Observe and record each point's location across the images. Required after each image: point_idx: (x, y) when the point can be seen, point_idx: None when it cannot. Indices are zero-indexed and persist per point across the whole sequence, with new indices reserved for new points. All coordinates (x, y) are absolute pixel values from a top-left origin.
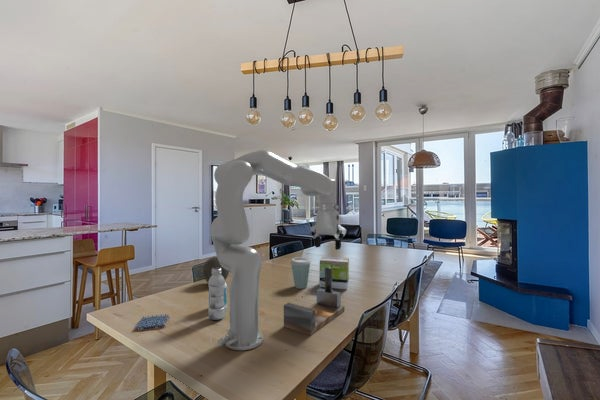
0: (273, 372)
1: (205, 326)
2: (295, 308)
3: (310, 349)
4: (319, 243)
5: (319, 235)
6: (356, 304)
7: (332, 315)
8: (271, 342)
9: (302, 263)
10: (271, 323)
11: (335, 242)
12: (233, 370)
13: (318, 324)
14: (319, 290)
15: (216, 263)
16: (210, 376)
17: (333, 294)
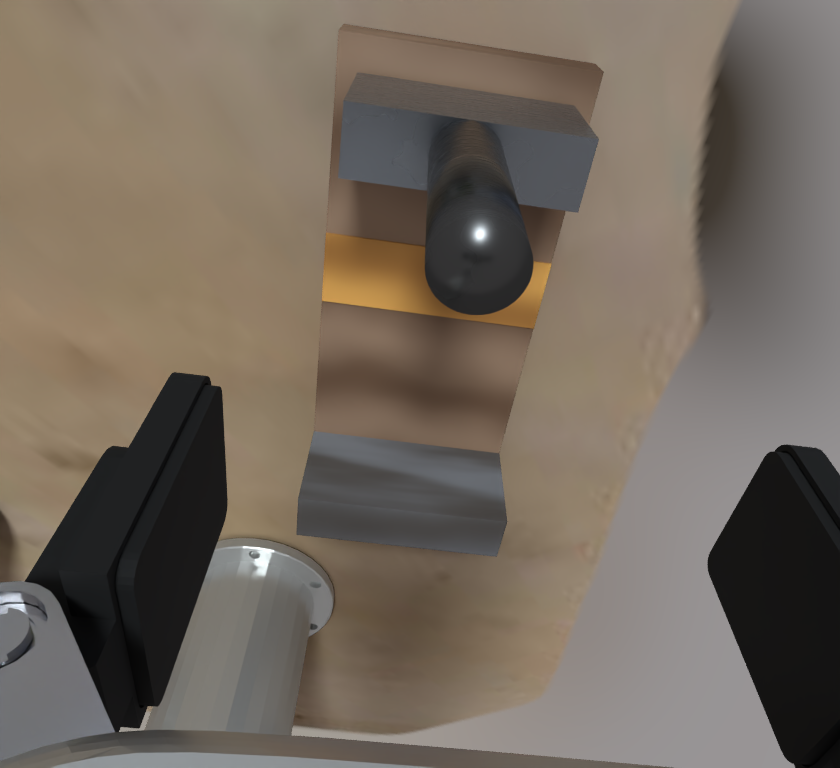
0: (471, 661)
1: (9, 567)
2: (388, 544)
3: (531, 547)
4: (198, 480)
5: (86, 703)
6: None
7: (546, 275)
8: (359, 561)
9: None
10: (236, 443)
11: (769, 713)
12: (359, 686)
13: (506, 426)
14: (369, 174)
15: None
16: (323, 713)
17: (535, 203)
